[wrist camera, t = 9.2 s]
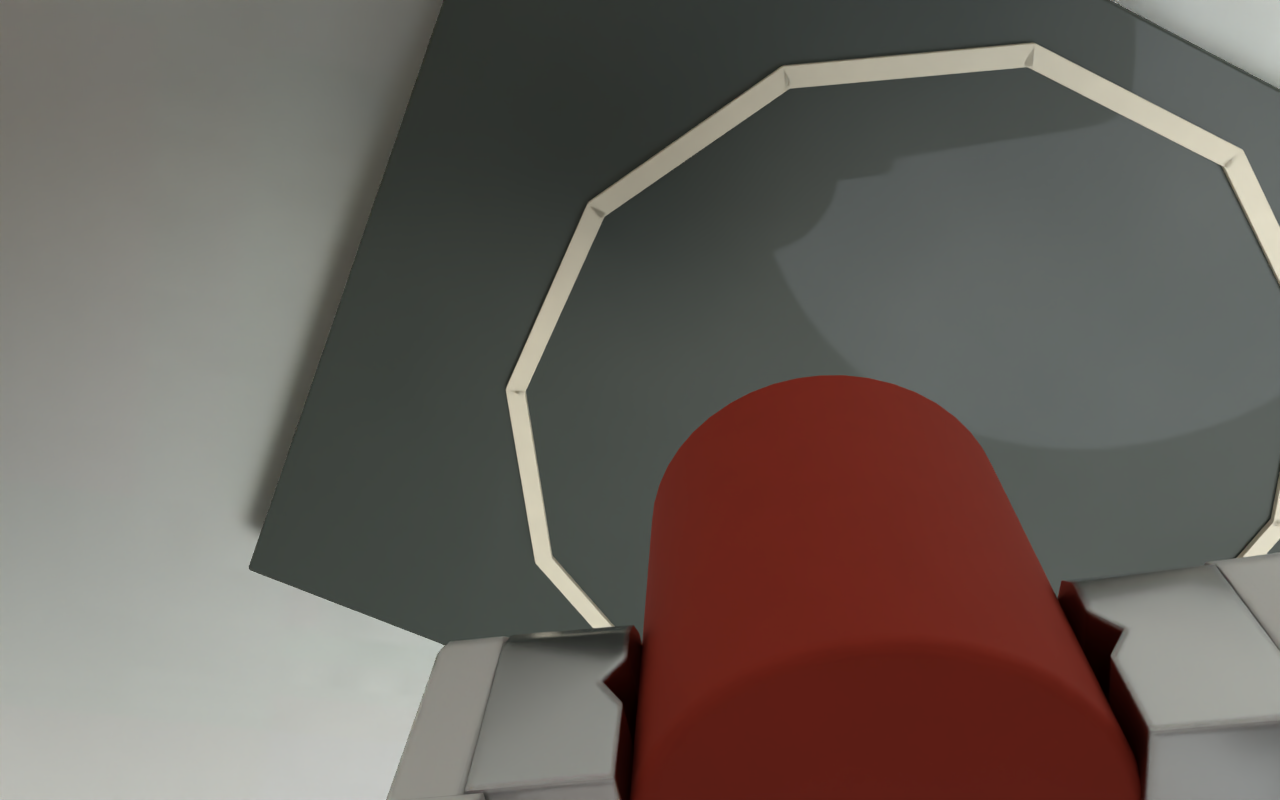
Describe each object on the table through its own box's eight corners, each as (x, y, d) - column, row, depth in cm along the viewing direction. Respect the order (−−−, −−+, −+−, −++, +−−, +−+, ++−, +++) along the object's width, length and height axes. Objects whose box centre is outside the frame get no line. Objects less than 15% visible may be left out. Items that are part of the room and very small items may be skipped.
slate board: (1097, 862, 22) (1116, 908, 21) (268, 538, 19) (244, 573, 18) (1649, 289, 16) (1712, 315, 15) (555, -286, 13) (543, -299, 12)
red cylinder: (886, 703, 11) (964, 1060, 7) (597, 587, 10) (550, 914, 7) (1071, 458, 9) (1267, 767, 6) (748, 312, 9) (775, 561, 6)
